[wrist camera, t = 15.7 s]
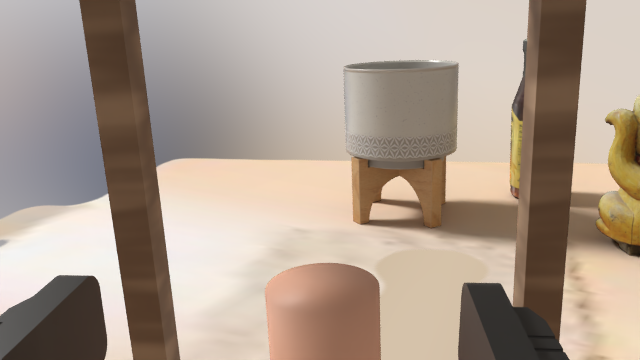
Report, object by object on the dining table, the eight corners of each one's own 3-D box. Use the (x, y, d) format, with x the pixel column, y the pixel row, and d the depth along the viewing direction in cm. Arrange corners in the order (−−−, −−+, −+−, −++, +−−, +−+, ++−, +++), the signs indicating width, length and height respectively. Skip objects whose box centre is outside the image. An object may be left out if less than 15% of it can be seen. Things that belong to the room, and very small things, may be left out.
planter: (389, 239, 60) (387, 71, 56) (328, 208, 71) (322, 66, 66) (478, 215, 66) (483, 62, 62) (409, 190, 77) (409, 58, 73)
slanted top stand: (818, 907, 15) (1232, -409, 7) (-119, 833, 17) (-535, -240, 9) (553, 392, 35) (591, -91, 27) (144, 389, 37) (79, -61, 29)
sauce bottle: (529, 186, 76) (538, 36, 71) (571, 197, 71) (584, 36, 66) (497, 196, 73) (503, 39, 68) (538, 207, 68) (549, 39, 63)
